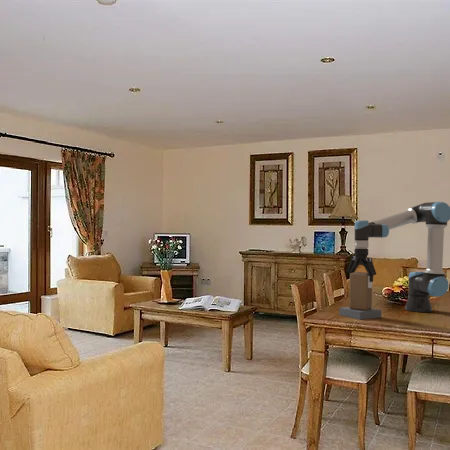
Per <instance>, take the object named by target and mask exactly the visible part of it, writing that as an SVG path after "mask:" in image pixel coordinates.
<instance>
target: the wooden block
mask: <svg viewBox="0 0 450 450" xmlns="http://www.w3.org/2000/svg"><path fill="white" fill-rule="evenodd" d="M368 275H369V274H368V272H362V271H355V272H354V273H349V294H348V295H349V299H348V300H349V301H348V303H349V305H348V307H349V308H350V309H355V310H364V311H365V310H368V309H371V308H373V306H372V304H373V303H372V302H373V299H372V298H373V287H372V288H368Z"/></svg>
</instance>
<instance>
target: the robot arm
mask: <svg viewBox="0 0 450 450" xmlns="http://www.w3.org/2000/svg"><path fill="white" fill-rule="evenodd" d="M449 221H450V205H449V204H448V203H447V202H444V201H431V202H430V201H429V202H423V203H420V204H417V205H415V206H412V207H409V208H407V210H406V211H403V212H399V213H396V214H393V215H390V216H386V217H383V218H380V219H377V220H373V221H371V222H369V220H356V221H355V222H354V228H353V229H354V253H353V254H354V255H352V256H351V257H350V260H349V264H348V267H347V269H346V272H347V273H349V274H350V273H354V272H356V270H357V269H358V267H359V266H363V267H364V269H365V270H366V273H368V274H369V275H368V288H372V289H373V283H374V276H375V275H377V271H376V269H375V266H374V262H373V258H372V257H371V256H370V257H368V255H369V238H375V239H376V238H378V239H379V238H381V239H383V238H386V237H388V236H389V233H390V230H393V229H396V228H399V227H402V226H403V227H404V226H405V225H408V224H414V225H415V224H417V223H425V226H426V228H427V245H426V246H427V247H426V268H425V270H423V271H414V272H413V271H412V272H410V273H409V274H408V297H407V300H406V303H405V306H404V309H405V311H409V312H414V313H431V312H433V306H432V304H431V299H430V296H431V297H438V298H439V297H443V296H444V295H446V293H447V292H448V290H449V288H450V287H449V285H450V284H449V281H448V279H447V278H446V273H445V271H443V263H444V262H443V261H444V260H443V259H444V241H445V240H444V237H445V235H444V234H445V228H446V227H447V226H448V222H449Z"/></svg>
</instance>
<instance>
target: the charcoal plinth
mask: <svg viewBox="0 0 450 450" xmlns="http://www.w3.org/2000/svg"><path fill="white" fill-rule="evenodd" d="M338 308H339V311H338V314H339V316H343V317H347V318H351V319H357V320H361V321H362V320H369V319H379V318H382V313H383V312H382V309H377V308H373V307H371V309H368V310H365V311H364V310H355V309H350V308H349V306H344V307H343V306H342V307H338Z"/></svg>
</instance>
